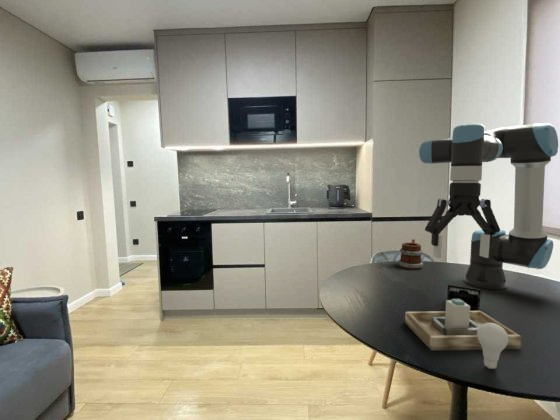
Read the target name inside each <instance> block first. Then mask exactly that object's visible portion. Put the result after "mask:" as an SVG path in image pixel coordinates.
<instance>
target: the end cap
mask: <svg viewBox="0 0 560 420" xmlns="http://www.w3.org/2000/svg"><path fill="white" fill-rule="evenodd" d="M481 291H482V290H481V289H479V288H473V287H467V286H462V285H461V286H460V285H453V284H448V285H447V297H446V300H452V299H461V300H462V301H464V302H465V303H466V304H468V305H469V306H470V311H479V307H481V306H480V304H481Z"/></svg>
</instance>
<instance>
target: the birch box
mask: <svg viewBox="0 0 560 420" xmlns="http://www.w3.org/2000/svg"><path fill="white" fill-rule="evenodd" d="M445 312H446V310H441V311H439V310H438V311H437V310H436V311H435V310H434V311H433V310H429V311H405V314H404V315H405V317H404V323H405V324H406V325H407V327H408V328H410V329H411V330H412V331H413V333H414V334H415V335H416V336H417V337H418V338H419V339H420V340H421V341H422V342H423V343H424V345H426V347H428V349H430V351H472V350H474V351H475V350H477V351H478V350H479V351H481V350H482V351H483V349H482V346H481V344H480V342H479V340H478V337H477V335H450V336H445V335H442V334H441V333H440V332H439V331H438V330H436V329H435V328H434V327H433V326H432V323H431V322H432V317H445ZM469 318H470V319H471V320H472V321H474V322H475V323H477V324H478V325H480V326H481V325H482V324H484V323H495V324H497V325H499V326H501V327H502V328H503V329H504V330H505V331H506V333H507V335H508V344H507V346H506V347H505V348H504V349H503V350H521V347H522V335H520V334H518V333H517V332H515V331H514V330H513V329H511V328H509V327H508V326H506V325H504V324H503V323H501V322H500V321H498V320H497V319H494V318H493V317H492V316H489V315H488V314H487V313H485V312H483V310H478V311H470V317H469ZM444 326H445V325H444Z"/></svg>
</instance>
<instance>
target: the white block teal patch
mask: <svg viewBox="0 0 560 420" xmlns="http://www.w3.org/2000/svg"><path fill="white" fill-rule="evenodd" d="M445 311H446V312H445V327H446V328H469V317H470V306H469V305H468V304H466V303H465V302H464V301H462V300H461V299H452V300H447V299H446V300H445Z"/></svg>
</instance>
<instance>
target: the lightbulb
mask: <svg viewBox="0 0 560 420" xmlns="http://www.w3.org/2000/svg"><path fill="white" fill-rule="evenodd" d="M477 337H478V340H479V342H480V344H481V346H482V349H483V350H482V355H483V364H484V366H485V367H487V368H488V369H489V370H493V369H497V367H498V361H499V359H500V356H501V353H502V351H503V350H505V349H504V348H505V347H506V346H507V344H508V335H507V333H506V331H505V330H504V329H503V328H502V327H501V326H499V325H497V324H495V323H484V324H482V325H481V326H480V327H479V328H478V331H477Z"/></svg>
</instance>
